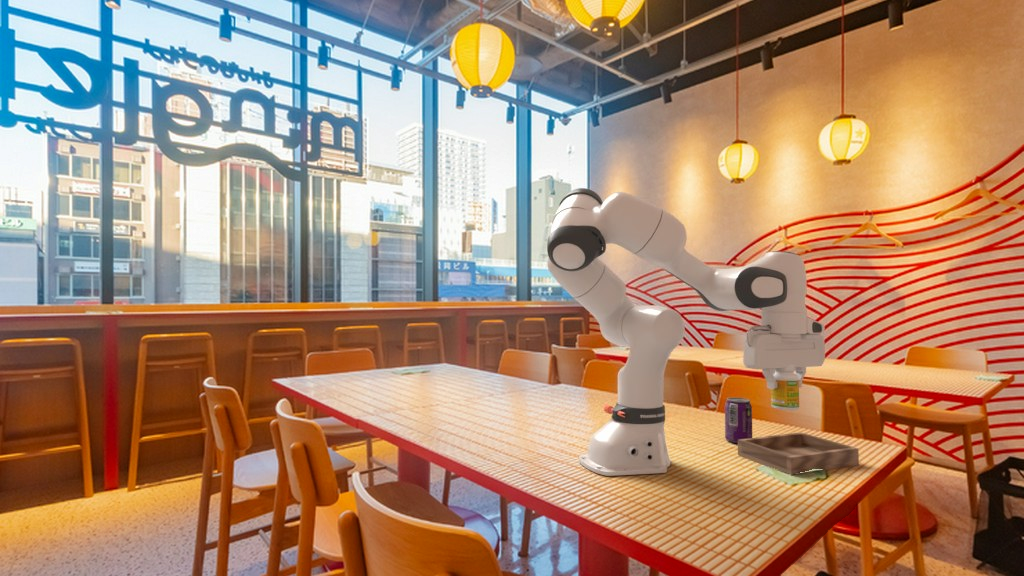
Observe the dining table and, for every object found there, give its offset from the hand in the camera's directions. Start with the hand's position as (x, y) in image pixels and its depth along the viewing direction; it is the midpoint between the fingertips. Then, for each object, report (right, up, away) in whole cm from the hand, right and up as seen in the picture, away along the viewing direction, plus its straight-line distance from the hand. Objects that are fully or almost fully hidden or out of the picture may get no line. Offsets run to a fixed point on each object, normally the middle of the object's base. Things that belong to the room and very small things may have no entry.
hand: (784, 388), depth 109 cm
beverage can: (+5, -22, +33) cm, 40 cm away
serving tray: (+12, -21, +16) cm, 29 cm away
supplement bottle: (0, -5, 0) cm, 5 cm away
